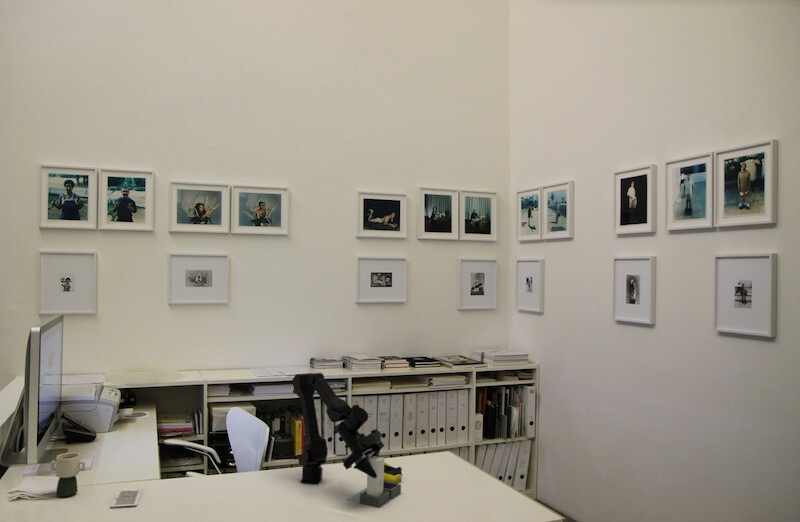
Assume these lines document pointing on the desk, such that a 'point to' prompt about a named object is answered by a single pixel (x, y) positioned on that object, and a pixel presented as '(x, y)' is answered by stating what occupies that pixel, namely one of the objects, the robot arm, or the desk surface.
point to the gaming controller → (392, 473)
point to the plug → (376, 483)
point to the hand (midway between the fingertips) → (379, 475)
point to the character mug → (67, 473)
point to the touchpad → (127, 497)
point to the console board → (388, 494)
